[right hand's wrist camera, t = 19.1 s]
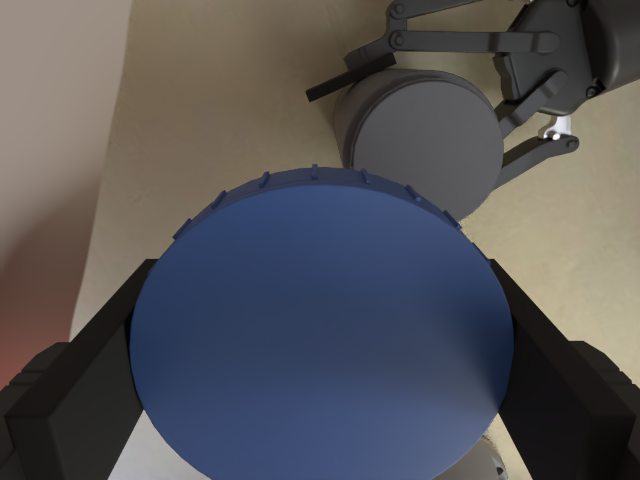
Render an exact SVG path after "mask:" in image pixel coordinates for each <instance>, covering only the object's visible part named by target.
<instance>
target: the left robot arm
mask: <svg viewBox="0 0 640 480" xmlns="http://www.w3.org/2000/svg"><path fill="white" fill-rule="evenodd" d="M478 1H482V0H394V1H393V2H392V3H391V4H390V5H389V6H388V7H387V9H386V11H385V15H386V32H385V34H384V35H383V36H382V38H380V39H378V40H376V41H374V42H372V43H369V44H367V45H365V46H363V47H361V48H359V49H356V50H354V51H352V52H350V53H348V54H347V55H346V56H345V58H344V61H345V64H346V67H347V69H348V72H346V73H343V74H341V75H339V76H337V77H335V78H332V79H330V80H328V81H326V82H324V83H321V84H319V85H317V86H315V87H313V88H310V89H308V90H306V95H307V97H308V99H309V102H312V101H314V100H316V99H318V98H321V97H323V96H325V95H327V94H329V93H332V92H334V91H336V90H338V89H341V88H343V87H345V86H347V85H350V84H352V83H354V82H356V81H358V80H361V79H363V78H365V77H367V76H370V75H372V74H374V73H376V72H379V71H381V70H383V69H385V68H387V67H390V66H392V65H394V64H396V61H395V58H394V55H393V53H394V52H396V51H417V52H469V53H495V57H493V61H494V65H495V68H496V70H497V71H498V73H499V75H500V77H501V91H502V95H503V98H505V99H504V100H503V101H502V102H501V103H500V104H499V105H498V106H497V107H496V108H495V109H494V111H495V114H496V116H497V119H498V122H499V125H500V128H501V132H502V137H503V139H504V138H505V137H506V136H508V135H509V134H510V133H511V132H512V131H513V130H514V129H515V128H516V127H518V126H520V125H522V124H524V123H525V122H526V121H527V120H528V119H529V118H530V117H531V116H532V115H533V114H534V113H535V112H540V113H545V114H549V115H551V120H550V122H549V123H548V124H547V125H546V126H544V127H542V128H541V129H540V130H539V131H538V136H536V137H533V138H530V139H528V140H526V141H524V142H522V143H521V144H519V145H517V146H516V147H514V148H512V149H511V150H509V151H508V152H506V153H504V154H503V162H502V167H501V171H500V174H499V177H498V179H497V182H496V184H495V186H494V187H493V189H492V191H493V190H495V189H497V188H498V187H500V186H502V185H503V184H505V183H507V182H508V181H510V180H512V179H513V178H515V177H517V176H518V175H520V174H522V173H523V172H525V171H527V170H529V169H530V168H532V167H534V166H535V165H537V164H539V163H540V162H542V161H544V160H545V159H547V158H549V157H553V156H558V155H562V154H566V153H571V152H573V151H575V150H576V149H577V148H578V146H579V139H578V138H577V137H575V136H572V131H571V114H572V113H573V112H574V111H576V110H577V108H578V107H579V106H580V105H581V104H583V103H584V102H585V101H587V100H589V99H591V98H594V97H596V96H599V95H601V94H604V93H606V92H609V91H611V90H614V89H616V88H618V87H621V86H623V85H626V84H628V83H631V82H633V81H635V80H638V79H640V0H522V1H524V3H525V5H524V6H523V8H522V9H521V11H520V12H519V14H518V15H517V17H516V18H515V20H514V21H513V23H512V24H511V26H510V27H509V28H508V30H507V31H506V32H448V31H407V19H409V18H413V17H417V16H421V15H425V14H429V13H434V12H438V11H442V10H446V9H450V8H454V7H458V6H462V5H466V4H470V3H474V2H478ZM508 1H512V0H508ZM492 191H491V192H492Z"/></svg>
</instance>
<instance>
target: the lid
mask: <svg viewBox="0 0 640 480" xmlns="http://www.w3.org/2000/svg"><path fill="white" fill-rule="evenodd" d="M461 228H462V227H461V226H460V224H459V223H458V222H457V221H456V220H455V219H454V218H453V217H452V216H451V214H450V213H449V212H448V211H447V210H444V211H443V212H442V211H441V210H440V209H439V208H438V207H437V206H435V205H434V204H433V203H431V202H430V201H428V200H427V199H426V198H424V197H423V196H421V195H420V194H418V193H416V191H415V190H414V189H413V188H412V186H411V185H409V184H407V185H406V187H405V186H403V185H401V184H399V183H397V182H394V181H391V180H389V179H386V178H383V177H380V176H377V175H375V174H370V173H368V172H367V170H366V169H364V168H362V169H361V171H356V170H351V169H341V168H329V167H319V168H317V164H313V166H312V168H300V169H294V170H288V171H283V172H277V173H273V174H269V172H265V173H264V174H263V176H262V177H261V178H258V179H255V180H252V181H249V182H247V183H245V184H243V185H241V186H239V187H237V188H235V189H233V190H231V191H229V192H227V193H226V191H225V190H224V191H222V192H221V193H220V194H219V196H218V197H217V198H216V199H215V201H214V202H212V203H211V204H209V205H208V206H207V207H206V208H205V209H204V210H203V211H201V212H200V213H199V214H198V215H197V216H196V217H195V218H194V219H193V220H191V219H190V218H189V219H188V220H187V221H186V222H185V223H184V224H183V226H182V227H181V228H180V229H179V230H178V231H177V232H176V234H175V235H174V236H173V238H174V239H175V241H174V242H173V243H172V244H171V246H170V247H169V248H168V249H167V250H166V252H165V253H164V254H163V255H162V256H161V257H160V258H159V260H158V261H157V262H156V263H155V264H154V266H153V267H152V268H151V269H150V270H149V271H148V273H147V276H148V277H147V279H146V281H145V282H144V285H143V287H142V290H141V292H140V294H139V297H138V299H137V302H136V305H135V309H134V313H133V317H132V322H131V328H130V341H129V351H130V364H131V371H132V375H133V379H134V384H135V388H136V391H137V393H138V396H139V398H140V401H141V403H142V406H143V408H144V410H145V412H146V413H147V415H148V417H149V418H150V420H151V422H152V424H153V425H154V427H155V428H156V430H157V431H158V432H159V433H160V435H161V436H162V437H163V439H164V440H165V441H166V443H167V444H168V445H169V446H170V447H171V448H172V449H173V450H174V451H175V452H176V453H177V454H178V455H179V456H180V457H181V458H183V459H184V460H185V461H186V462H188V463H189V464H190V465H191V466H193V467H194V468H195V469H196V470H198V471H199V472H201V473H202V474H204V475H206V476H207V477H209V478H210V479H212V480H431V479H433V478H435V477H436V476H438V475H440V474H441V473H443V472H444V471H445V470H447V469H448V468H449V467H451V466H452V465H453V464H455V463H456V462H457V461H459V460H460V459H461V458H462V457H463V456H464V455H465V454H466V453H467V452H468V451H469V450H470V449H471V448H472V447H473V446H474V445H475V444H476V443H477V441H478V440H479V439H480V438H481V437H482V435H483V434H484V433H485V432H486V431H487V429H488V427H489V426H490V424H491V423H492V421H493V419H494V418H495V416H496V415H497V413H498V411H499V409H500V406H501V404H502V402H503V400H504V398H505V395H506V391H507V386H508V380H509V375H510V369H511V364H512V358H513V353H514V328H513V323H512V318H511V313H510V308H509V305H508V302H507V300H506V297H505V294H504V292H503V289H502V286H501V285H500V283H499V281H498V279H497V277H496V276H495V274H494V272H493V270H492V268H491V267H490V265H491V262H490V261H489V260H488V258H487V257H486V256H485V255H484V254H483V253H482V252H481V251H480V249H479V248H478V247H477V246H476V245H475V244H474V243H471V242H470V240H469V239H468V238H467V237H466V236H465V235H464V233H463V232H462V231H461V230H460V229H461Z"/></svg>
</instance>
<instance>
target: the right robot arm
mask: <svg viewBox="0 0 640 480" xmlns="http://www.w3.org/2000/svg"><path fill="white" fill-rule="evenodd" d="M158 260H159V259H146V260H145V261H144V262H143V263H142V264H141V265H140V266H139V267H138V269H137V270H136V271H135V272H134V273H133V274H132V275H131V276H130V277H129V278H128V280H127V281H126V282H125V283H124V284H123V285H122V286H121V287H120V288H119V289H118V291H117V292H116V293H115V294H114V295H113V296H112V297H111V298H110V299H109V300H108V302H107V303H106V304H105V305H104V306H103V307H102V308H101V309H100V310H99V311H98V313H97V314H96V315H95V316H94V317H93V318H92V319H91V320H90V321H89V322H88V323H87V325H86V326H85V327H84V328H83V329H82V330H81V331H80V332H79V333H78V334H77V336H76V337H75V338H74V339H73V340H72V341H71V342H57V343H55V344H54V345H52V346H50V347H49V348H47V349H45V350H44V351H42V352H40V353H39V354H37V355H36V356H35V357H34V358H33V359H32V360H31V361H30V362H29V363H28V364H27V365H26V366H25V367H24V368H23V369H22V371H21V373H18V374H17V375H16V376H15V377H14V378H13V379H12V380H11V381H10V382H9V386H5V387H4V388H3V389H2V390H1V391H0V480H107V479H108V478H109V476H110V474H111V472H112V470H113V468H114V466H115V464H116V462H117V460H118V458H119V456H120V454H121V452H122V450H123V448H124V447H125V445H126V443H127V441H128V439H129V437H130V435H131V433H132V431H133V429H134V427H135V425H136V423H137V421H138V419H139V418H140V416H141V414H142V412H143V410H144V408H143V406H142V403H141V401H140V398H139V396H138V393H137V391H136V388H135V384H134V379H133V375H132V371H131V364H130V351H129V341H130V328H131V322H132V317H133V313H134V309H135V305H136V302H137V299H138V297H139V294H140V292H141V290H142V287H143V285H144V282H145V281H146V279H147V277H148V276H147V273H148V271H149V270H150V269H151V268H152V267H153V266H154V264H155V263H156V262H157V261H158ZM488 260H489V261H490V262H491V265H490V267H491V268H492V270H493V272H494V274H495V276H496V277H497V279H498V281H499V283H500V285H501V286H502V289H503V292H504V294H505V297H506V300H507V302H508V305H509V308H510V313H511V318H512V323H513V328H514V353H513V358H512V364H511V369H510V375H509V380H508V386H507V391H506V395H505V398H504V400H503V402H502V404H501V406H500V409H499V411H498V413H499V415H500V417H501V419H502V421H503V423H504V425H505V427H506V429H507V431H508V432H509V434H510V436H511V438H512V440H513V442H514V444H515V446H516V448H517V450H518V452H519V454H520V456H521V458H522V460H523V461H524V463H525V465H526V467H527V469H528V471H529V473H530V475H531V477H532V479H533V480H640V389H639V388H638V387H637V386H636V385H635V384H632V381H631V380H630V379H629V378H628V377H627V376H626V375H625V374H624V373H623V372H622V371H619V368H618V367H617V366H616V365H615V364H614V363H613V362H612V361H611V360H610V359H609V358H608V357H607V356H606V355H605V354H604V353H603V352H601V351H599V350H598V349H596V348H594V347H593V346H591V345H589V344H588V343H586V342H584V341H568V340H567V339H566V337H565V336H564V335H563V334H562V333H561V332H560V331H559V330H558V329H557V328H556V326H555V325H554V324H553V323H552V322H551V321H550V320H549V319H548V318H547V317H546V315H545V314H544V313H543V312H542V311H541V310H540V309H539V308H538V307H537V306H536V304H535V303H534V302H533V301H532V300H531V299H530V298H529V297H528V296H527V295H526V293H525V292H524V291H523V290H522V289H521V288H520V287H519V286H518V285H517V284H516V283H515V281H514V280H513V279H512V278H511V277H510V276H509V275H508V274H507V273H506V272H505V270H504V269H503V268H502V267H501V266H500V265H499V264H498V263H497V262H496V261H495V259H488ZM431 480H508V478H507V473H506V469H505V466H504V463H503V461H502V459H501V457H500V455H499V453H498V451H497V449H496V448H495V446H494V445H493V444H492V443H491V442H490V441H489V440H488V439H487V438H486V437H484V436H483V435H482V437H481V438H480V439H479V440H478V441H477V443H476V444H475V445H474V446H473V447H472V448H471V449H470V450H469V451H468V452H467V453H466V454H465V455H464V456H463V457H462V458H461V459H460V460H459V461H457V462H456V463H455V464H453V465H452V466H451V467H449V468H448V469H447V470H445V471H444V472H443V473H441V474H440V475H438V476H436V477H435V478H433V479H431Z"/></svg>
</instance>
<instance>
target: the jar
mask: <svg viewBox="0 0 640 480" xmlns="http://www.w3.org/2000/svg"><path fill="white" fill-rule="evenodd" d="M333 124H334V130H335V135H336V139H337V143H338V148H339V152H340V157H341V161H342V165H343V169H351V170H356V171H361V169H362V168H364V169H366V170H367V172H368V173H370V174H375V175H377V176H380V177H383V178H386V179H389V180H391V181H394V182H397V183H399V184H401V185H403V186H405V187H406V185H407V184H409V185H411V186H412V188H413V189H414V190H415V191H416V193H418V194H420V195H421V196H423V197H424V198H426V199H427V200H428V201H430V202H431V203H433V204H434V205H435V206H437V207H438V208H439V209H440V210H441V211H442V212H443V211H444V210H447V211H448V212H449V213H450V214H451V216H452V217H453V218H454V219H455V220H456V221H457V222H459V221H460V220H462V219H464V218H466V217H467V216H468V215H470V214H471V213H473V212H474V211H475V210H476V209H477V208H478V207H479V206H480V205H481V204H482V203H483V202H484V201H485V200H486V198H487V197H488V195H489V194H490V193H491V191H492V189H493V187H494V186H495V184H496V182H497V179H498V177H499V174H500V171H501V167H502V162H503V154H504V144H503V137H502V132H501V128H500V125H499V122H498V119H497V116H496V114H495V111H494V109H493V107H492V106H491V104H490V102H489V101H488V99H487V98H486V97H485V96H484V95H483V93H482V92H481V91H480V90H479V89H477V88H476V87H475V86H474V85H473V84H471V83H470V82H468V81H467V80H465V79H463V78H461V77H459V76H456V75H454V74H451V73H447V72H443V71H435V70H412V69H383V70H381V71H379V72H376V73H374V74H372V75H370V76H367V77H365V78H363V79H361V80H358V81H356V82H354V83H352V84H350V85H347V86H345V87H344V89H343V90H342V91H341V93H340V95H339V97H338V99H337V101H336V104H335V108H334V114H333Z"/></svg>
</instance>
